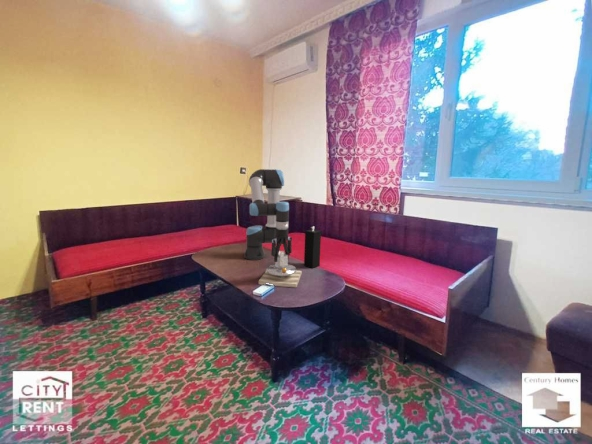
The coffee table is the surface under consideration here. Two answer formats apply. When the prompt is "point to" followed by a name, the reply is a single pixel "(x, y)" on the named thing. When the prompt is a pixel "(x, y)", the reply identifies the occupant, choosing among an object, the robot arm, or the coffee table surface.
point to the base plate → (281, 279)
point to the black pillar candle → (312, 248)
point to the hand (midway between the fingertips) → (281, 265)
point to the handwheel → (281, 266)
